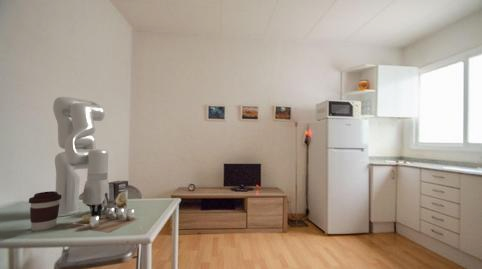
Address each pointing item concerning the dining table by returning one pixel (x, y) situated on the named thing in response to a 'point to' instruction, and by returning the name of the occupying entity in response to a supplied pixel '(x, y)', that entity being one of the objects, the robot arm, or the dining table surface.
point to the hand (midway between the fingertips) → (95, 219)
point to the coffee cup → (44, 210)
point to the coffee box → (117, 195)
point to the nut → (86, 218)
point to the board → (102, 224)
